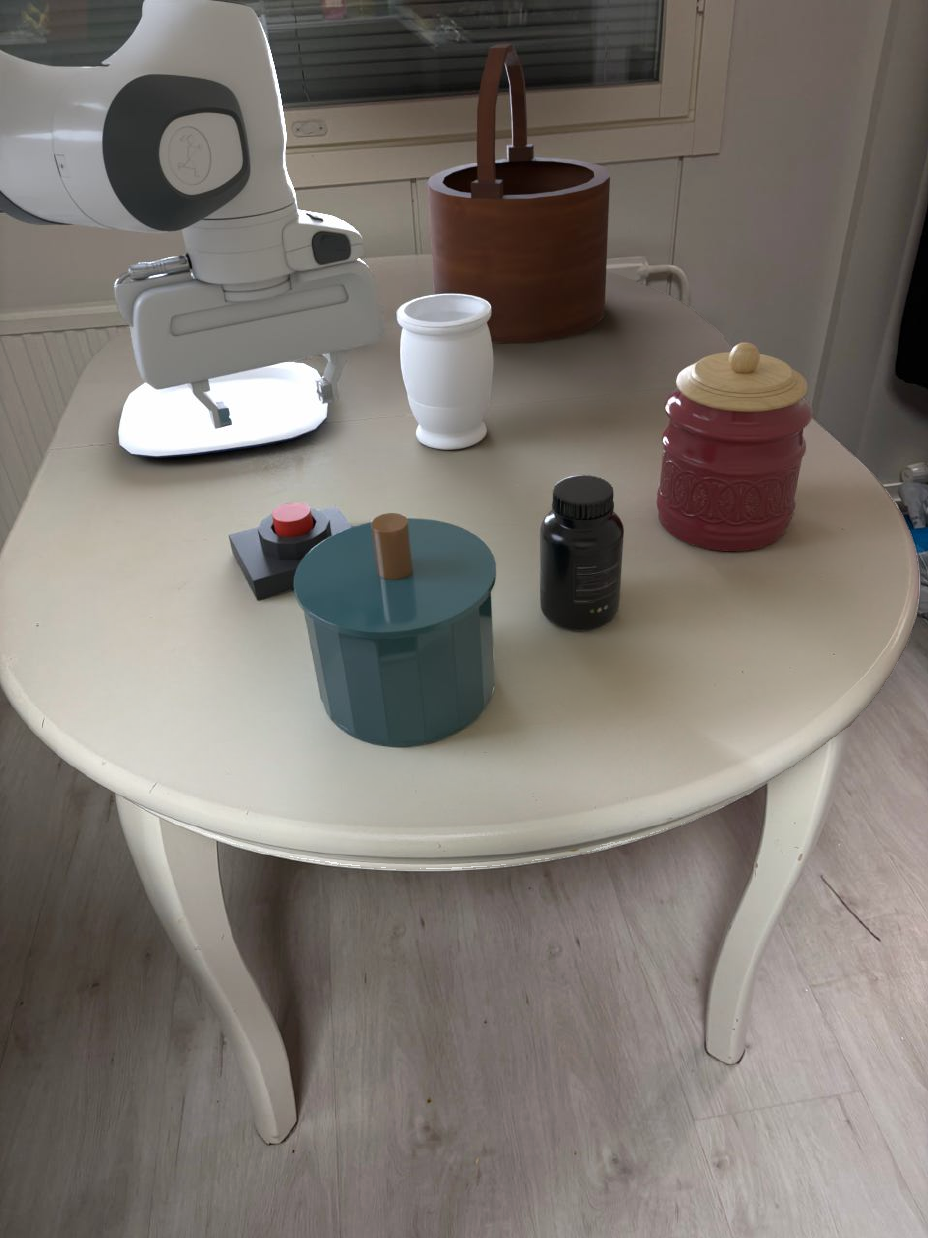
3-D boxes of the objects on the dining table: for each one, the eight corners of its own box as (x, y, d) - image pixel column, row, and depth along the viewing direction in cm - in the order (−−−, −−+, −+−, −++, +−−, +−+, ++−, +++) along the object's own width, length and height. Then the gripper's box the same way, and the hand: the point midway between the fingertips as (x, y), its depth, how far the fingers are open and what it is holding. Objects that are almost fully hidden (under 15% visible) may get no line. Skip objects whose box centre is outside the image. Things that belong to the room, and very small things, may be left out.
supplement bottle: (526, 599, 82) (525, 479, 75) (594, 579, 84) (599, 460, 77) (563, 643, 77) (565, 518, 69) (634, 620, 79) (643, 496, 71)
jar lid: (334, 671, 60) (323, 606, 57) (271, 563, 70) (259, 503, 67) (533, 605, 64) (532, 542, 61) (445, 513, 75) (441, 455, 72)
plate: (114, 475, 105) (110, 462, 104) (131, 389, 125) (128, 377, 124) (336, 445, 108) (334, 431, 107) (318, 366, 128) (317, 354, 127)
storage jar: (357, 771, 66) (338, 657, 60) (300, 664, 76) (278, 557, 70) (524, 709, 71) (523, 597, 64) (449, 615, 81) (442, 511, 74)
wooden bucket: (613, 287, 149) (624, 31, 128) (594, 346, 129) (604, 54, 108) (458, 283, 154) (444, 37, 133) (416, 340, 135) (393, 60, 114)
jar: (496, 454, 105) (492, 322, 96) (404, 457, 105) (392, 326, 96) (494, 414, 113) (491, 289, 104) (410, 417, 113) (399, 293, 104)
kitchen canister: (631, 504, 94) (642, 333, 84) (738, 476, 98) (762, 309, 87) (703, 568, 84) (726, 384, 74) (820, 534, 88) (858, 354, 77)
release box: (257, 600, 84) (248, 564, 81) (232, 553, 90) (224, 518, 88) (370, 567, 87) (365, 530, 85) (338, 524, 94) (333, 489, 92)
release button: (281, 541, 85) (278, 525, 84) (270, 524, 87) (267, 508, 86) (318, 531, 86) (315, 515, 85) (306, 514, 89) (303, 498, 88)
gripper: (112, 279, 66) (161, 455, 74) (381, 232, 72) (398, 399, 80) (100, 258, 70) (147, 426, 79) (353, 215, 77) (372, 375, 85)
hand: (276, 412), depth 79 cm, fingers open, 8 cm apart
